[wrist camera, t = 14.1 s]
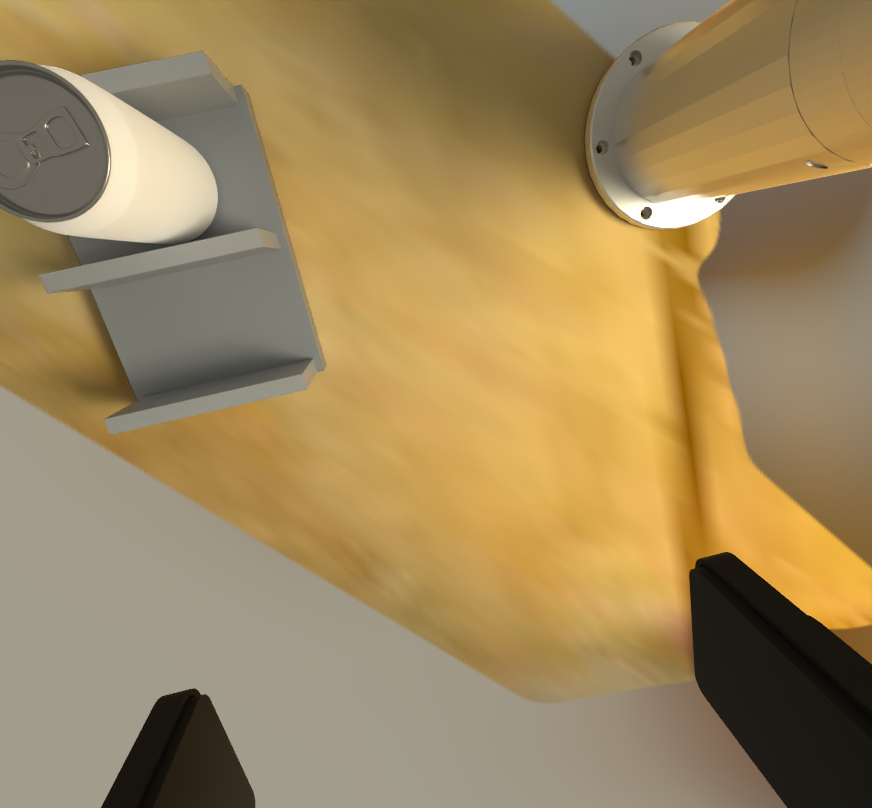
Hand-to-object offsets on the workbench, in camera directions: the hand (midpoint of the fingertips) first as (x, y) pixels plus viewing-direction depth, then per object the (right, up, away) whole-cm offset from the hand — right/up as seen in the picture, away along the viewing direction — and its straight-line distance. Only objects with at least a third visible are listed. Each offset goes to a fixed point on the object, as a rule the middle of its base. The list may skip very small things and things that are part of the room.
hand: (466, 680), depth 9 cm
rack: (-17, +15, +23) cm, 32 cm away
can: (-17, +19, +21) cm, 33 cm away
